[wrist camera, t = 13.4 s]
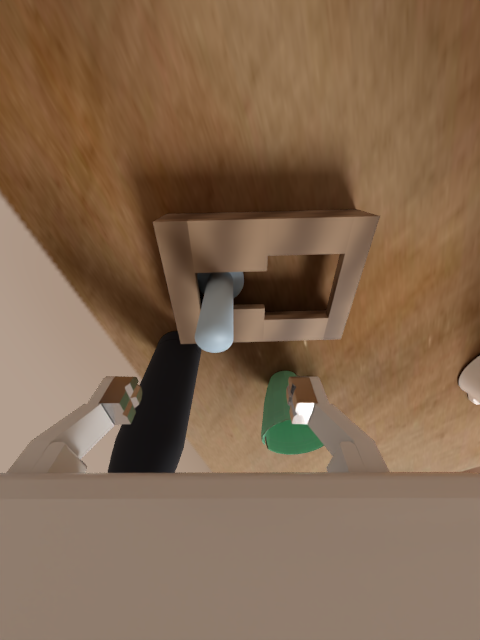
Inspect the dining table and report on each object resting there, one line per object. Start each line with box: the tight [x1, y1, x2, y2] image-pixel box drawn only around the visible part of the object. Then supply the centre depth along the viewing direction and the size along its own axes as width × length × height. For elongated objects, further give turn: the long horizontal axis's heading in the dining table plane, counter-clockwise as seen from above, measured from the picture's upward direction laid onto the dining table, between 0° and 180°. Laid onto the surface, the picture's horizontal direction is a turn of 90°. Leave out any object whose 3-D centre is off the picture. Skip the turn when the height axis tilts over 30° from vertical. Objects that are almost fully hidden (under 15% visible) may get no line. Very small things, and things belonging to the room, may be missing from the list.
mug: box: [261, 371, 324, 454], centre depth 34 cm, size 15×10×10 cm
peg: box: [195, 272, 244, 353], centre depth 22 cm, size 6×6×12 cm
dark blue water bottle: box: [108, 331, 201, 473], centre depth 20 cm, size 6×6×30 cm
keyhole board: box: [153, 209, 380, 344], centre depth 25 cm, size 20×14×4 cm
